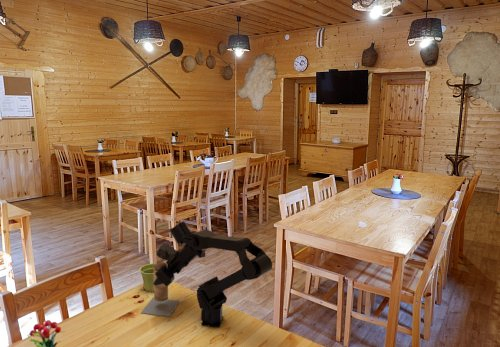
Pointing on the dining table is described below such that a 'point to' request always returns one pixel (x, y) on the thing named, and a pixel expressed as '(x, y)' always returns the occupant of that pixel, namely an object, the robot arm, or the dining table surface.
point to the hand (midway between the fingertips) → (157, 280)
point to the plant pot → (148, 276)
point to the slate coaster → (160, 307)
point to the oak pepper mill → (160, 285)
